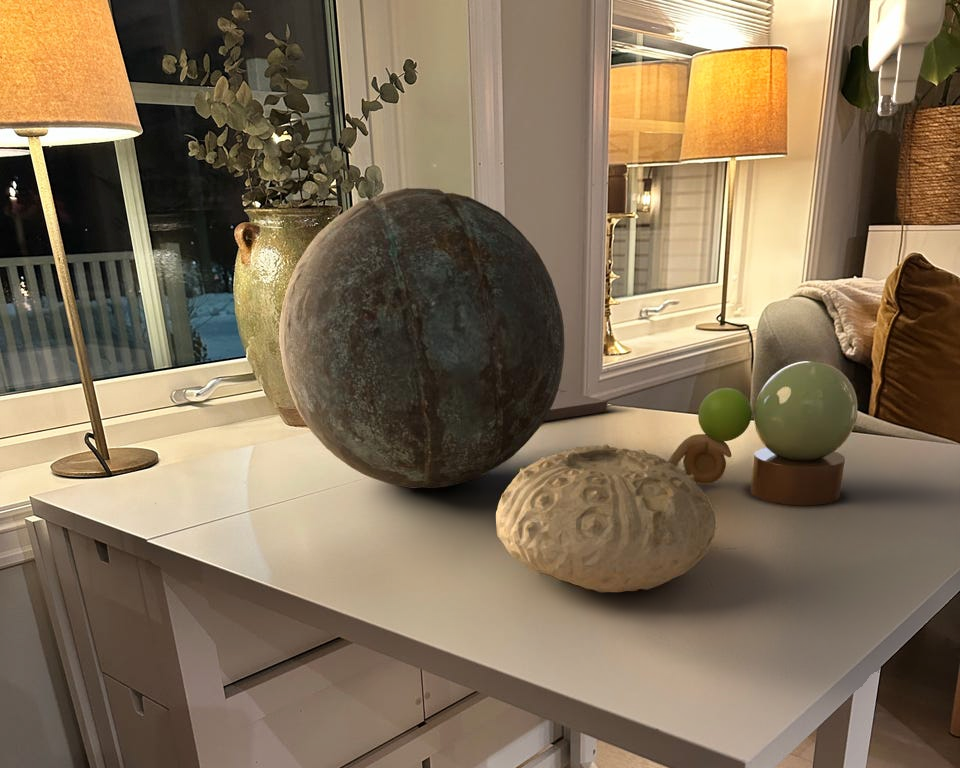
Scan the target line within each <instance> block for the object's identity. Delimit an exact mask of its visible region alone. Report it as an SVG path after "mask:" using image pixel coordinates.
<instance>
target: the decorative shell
mask: <svg viewBox="0 0 960 768" xmlns="http://www.w3.org/2000/svg"><path fill="white" fill-rule="evenodd" d="M694 478H695V476H693V475H692V474H691V475H687V473H686V472H684V471H683V470H681V469H680V468H679V467H678V466H677V467H675V466H674V465H673V464H671V463H670V462H668V460H666V459H665V458H663V457H661V456H659V455H657V454H653V453H648V452H647V451H646V450H644V449H642V450H640V451H637V450H631V449H628V448H617V447H615V446H610V445H608V444H607V443H606V444H604V445H602V446H600V445H588V446H587V445H586V446H583V447H580V446H575V447H574V448H573V449H570V450H569V449H566V450H563V451H562V452H557V453H555V454H552V455H550V456H541V458H540V459H539V460H537V461H535V462H533V463H531V464H529V465H528V466H526V467H521V468H520V469H519V473H518V474H516V476H515V477H514V478H512V481H511V482H510V484H509V485H508V486H507V487H506V489H505V490H504V492H502V494H501V497H500V499H499V501H498V505H497V510H496V512H495V522H496V523H495V525H496V536H497V537H498V539H500V541H501V542H502V543H503V545H504V547H505V548H506V551H508V553H509V554H510V555H511V556H512V557H513V558H515V559H516V560H518V562H520V563H521V564H524V566H526V567H527V568H530V569H531V570H532V571H534V572H537V573H539V574H542V575H543V574H544V575H549V576H551V577H553V578H555V579H557V580H559V581H564V582H567V583H571V584H572V585H575V586H579V587H580V588H583V589H585V590H593V591H596V592H597V593H622V592H623V593H624V592H627V591H628V592H637V591H638V590H640V589H641V590H645V591H647V590H650V589H653V588H656V587H658V586H660V585H663V584H665V583H667V582H669V581H671V580H672V579H675V578H677V577H681V576H682V575H684V574H686V573H687V572H688V571H689V570H691V569H692V568H693V567H694V566H696V564H697V563H698V562H699V561H700V560H701V559H702V558H703V557H704V556H705V555H706V554H707V553H708V551H709V548H710V546H711V545H712V542H713V540H714V538H715V534H716V515H715V511H714V509H713V506H712V503H711V501H710V499H709V496H708V495H706V494H705V493H704V490H703V489H702V488H701V487H700V486H699V485H698V484H697V482H695V480H694Z"/></svg>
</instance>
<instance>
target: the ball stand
mask: <svg viewBox="0 0 960 768" xmlns="http://www.w3.org/2000/svg"><path fill="white" fill-rule="evenodd" d="M858 404H859V403H858V398H857V393H856V390H855V388H854V385H853V384H852V382H851V381H850V380H849V378H848V377H847V375H845V374H844V373H843V371H841V370H839V369H838V368H837V367H835V366H833V365H831V364H828V363H825V362H823V361H822V362H821V361H814V360H806V361H797V362H795V363H791V364H788V365H786V366H784V367H783V368H781V369H779V370H777V371H776V372H775V373H774V374H773V375H771V376H770V377H769V378H768V380H766V382H765V383H764V384H763V386H762V387H761V389H760V390H759V392H758V395H757V397H756V400H755V404H754V409H753V424H754V428H755V431H756V433H757V436H758V438H759V440H760V442H761V443H762V444H763V446H764V447H763V448H760V449H758V450H756V451H754V454H753V463H752V472H751V473H752V474H751V482H750V493H751V495H753V497H756V498H757V499H760V500H764V501H766V502H769V503H770V502H771V503H774V504H780V505H788V506H820V505H826V504H831V503H833V502H835V501H837V500H839V498H840V495H841V490H842V489H841V488H842V482H843V475H844V470H845V464H846V463H845V462H846V457H845V456H844V455H843V454H841V453H839V452H837V450H838V449H840V447H841V446H843V444H845V442H846V441H847V440H848V439H849V437H850V435H851V433H852V432H853V430H854V428H855V425H856V422H857V419H858V409H859V406H858Z"/></svg>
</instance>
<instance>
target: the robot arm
mask: <svg viewBox="0 0 960 768" xmlns="http://www.w3.org/2000/svg"><path fill="white" fill-rule="evenodd" d="M946 1H947V0H870V1H869V18H868V19H869V21H868V25H869V26H868V66H869V70H870V71H871V72H879V73H878V107H877V114H878V115H879V116H880V117H887V116H893V115H894V114H896V113H897V112H898V110H899V105H907V104H910V103H912V101H914V99H915V97H916V94H917V93H916V92H917V85H918V79H919V76H920V72H921V68H922V64H923V61H924V57H925V50H926V47H928V45H929V44H930V43H931V42H932V41H933V40H934V39H936V38H937V37H938V36H939V35H940V33H941V30H942V27H943V24H944V17H945V11H946V3H947V2H946Z"/></svg>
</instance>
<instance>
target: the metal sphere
mask: <svg viewBox="0 0 960 768" xmlns="http://www.w3.org/2000/svg"><path fill="white" fill-rule="evenodd" d="M278 344H279V350H280V357H281V364H282V368H283V373H284V377H285V378H284V379H285V380H286V384H287V387H288V390H289V392H290V395H291V398H292V401H293V403H294V406H295V408H296V410H297V413H298V414H299V416H300V417H301V419H302V420H303V422H304V424H305V425H306V427H307V428H308V429H309V431H311V433H312V434H313V436H315V438H316V439H318V441H319V442H320V443H321V444H322V445H323V446H324V448H325V449H327V450H328V451H329V452H330V453H331V454H333V456H335V457H336V458H337V459H339V460H340V461H342V462H343V463H344V464H346V465H347V466H348V467H350V468H351V469H353V470H355V471H357V472H359V473H360V474H362V475H364V476H366V477H368V478H372V479H374V480H377V481H379V482H383V483H386V484H389V485H393V486H398V487H402V488H407V489H416V488H417V489H418V488H426V489H437V488H445V487H451V486H455V485H458V484H463V483H465V482H469V481H472V480H474V479H477V478H480V477H481V476H484V475H485V474H486V473H489V472H491V471H492V470H494V469H497V468H498V467H500V466H502V465H503V464H504V463H506V462H507V461H508V460H510V459H512V458H513V457H514V456H515V455H516V454H517V453H518V452H519V451H520V450H521V449H522V448H523V447H524V446H525V445H526V444H527V443H528V442H529V441H530V440H531V439H532V437H533V436H534V435H535V434H536V433H537V431H538V430H539V428H540V427H541V426H542V424H543V423H544V422H545V421H544V419H545V418H546V416H547V414H548V412H549V410H550V409H551V407H552V405H553V402H554V400H555V397H556V394H557V391H558V389H559V387H560V384H561V380H562V375H563V367H564V361H565V360H564V359H565V358H564V357H565V326H564V318H563V313H562V309H561V306H560V302H559V299H558V294H557V292H556V287H555V285H554V282H553V279H552V277H551V275H550V273H549V271H548V268H547V266H546V265H545V263H544V261H543V259H542V258H541V255H540V254H539V253H538V251H537V249H536V248H535V247H534V246H533V244H532V243H531V242H530V241H529V240H528V238H527V237H526V236H525V235H524V234H523V232H521V231H520V229H518V228H517V227H516V226H515V225H514V224H513V223H512V222H511V221H510V220H509V219H508V218H506V217H505V216H504V215H503V214H502V213H501V212H500V211H498V210H495V209H493V208H492V207H490V206H488V205H486V204H485V203H482V202H480V201H478V200H477V199H475V198H472V197H470V196H467V195H463V194H458V193H454V192H444V191H443V190H440V189H439V188H425V187H424V188H423V187H413V188H411V187H410V188H409V187H406V188H402V189H397V190H392V191H389V192H385V193H381V194H378V195H376V196H373V197H372V198H370V199H366V200H359V201H358V202H356V203H355V204H353V205H352V206H351V207H350V208H348V209H347V210H345V211H343V212H342V213H340V214H339V215H338V216H336V217H335V218H334V219H332V221H331V222H329V223H328V224H327V225H326V226H325V227H324V228H322V229H321V230H320V231H319V232H318V233H317V234H316V235H315V237H314V238H313V239H312V240H311V242H310V243H309V244H308V245H307V247H306V249H305V250H304V252H303V253H302V255H301V257H300V259H299V260H298V262H297V264H296V266H295V267H294V270H293V272H292V275H291V277H290V279H289V282H288V284H287V287H286V291H285V294H284V297H283V302H282V306H281V312H280V319H279V323H278Z"/></svg>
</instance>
